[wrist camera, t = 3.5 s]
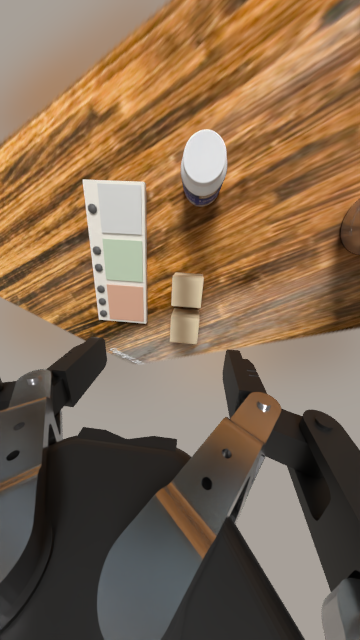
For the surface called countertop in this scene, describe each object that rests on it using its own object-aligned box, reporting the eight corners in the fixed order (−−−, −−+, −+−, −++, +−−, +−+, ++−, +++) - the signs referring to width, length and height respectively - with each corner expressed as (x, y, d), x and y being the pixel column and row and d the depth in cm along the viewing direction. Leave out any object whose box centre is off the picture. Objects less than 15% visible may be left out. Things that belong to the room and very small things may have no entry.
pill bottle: (202, 215, 30) (204, 201, 21) (176, 188, 29) (166, 161, 20) (228, 183, 28) (243, 153, 19) (201, 153, 27) (204, 105, 18)
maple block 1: (202, 274, 34) (203, 278, 29) (200, 300, 36) (200, 308, 31) (175, 272, 34) (172, 276, 29) (174, 298, 36) (171, 305, 31)
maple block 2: (199, 310, 36) (199, 319, 32) (196, 332, 38) (196, 344, 34) (174, 307, 37) (171, 316, 32) (173, 330, 38) (169, 341, 34)
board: (146, 184, 29) (143, 181, 28) (147, 321, 38) (145, 324, 37) (86, 181, 30) (81, 178, 29) (101, 317, 39) (98, 320, 38)
